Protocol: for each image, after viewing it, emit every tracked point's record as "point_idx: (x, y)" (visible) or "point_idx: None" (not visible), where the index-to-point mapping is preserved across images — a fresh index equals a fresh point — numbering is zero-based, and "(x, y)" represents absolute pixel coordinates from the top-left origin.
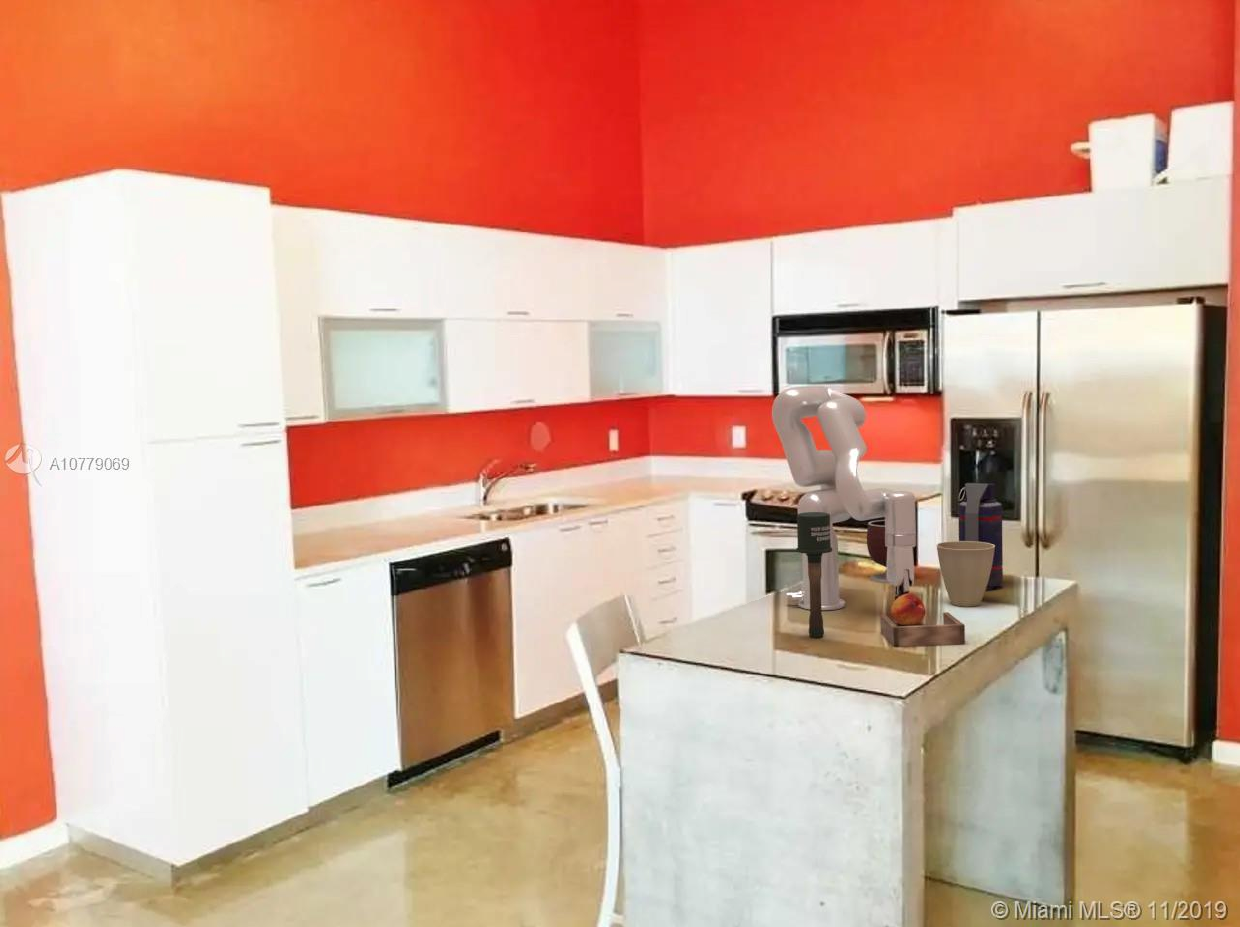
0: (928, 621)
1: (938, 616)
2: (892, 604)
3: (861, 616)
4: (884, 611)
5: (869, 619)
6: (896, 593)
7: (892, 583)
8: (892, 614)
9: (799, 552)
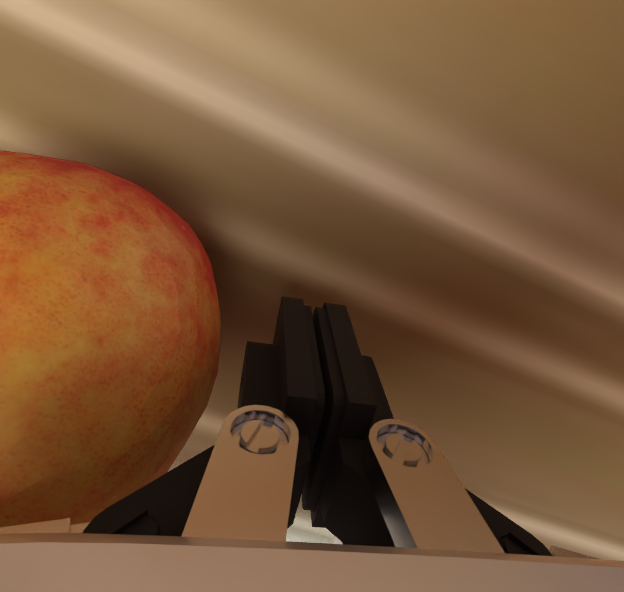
0: (195, 443)
1: (306, 524)
2: (13, 213)
3: (596, 14)
4: (614, 298)
5: (440, 37)
6: (368, 448)
7: (151, 580)
8: (12, 152)
9: None
